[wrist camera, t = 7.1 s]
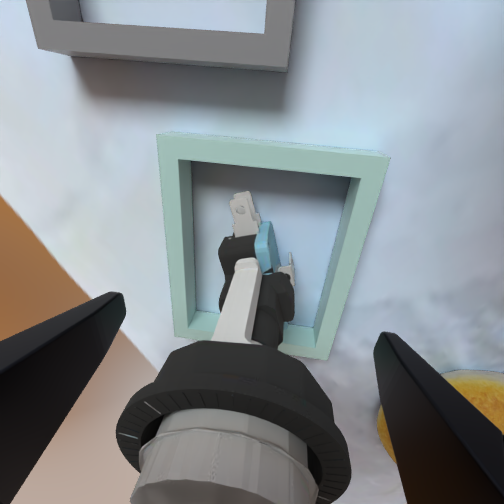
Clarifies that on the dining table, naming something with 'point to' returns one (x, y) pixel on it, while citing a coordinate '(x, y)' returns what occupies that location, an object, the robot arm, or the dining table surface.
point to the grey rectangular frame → (164, 39)
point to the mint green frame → (273, 157)
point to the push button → (238, 398)
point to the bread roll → (474, 390)
